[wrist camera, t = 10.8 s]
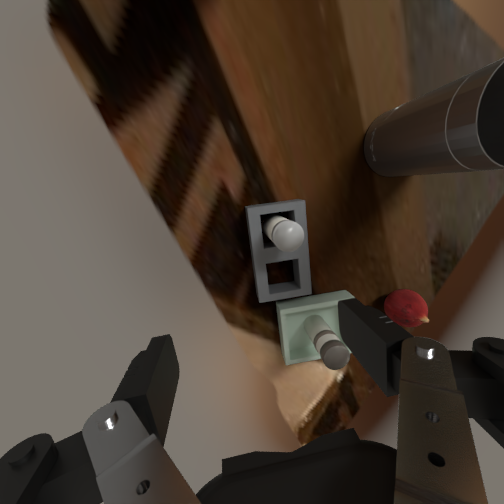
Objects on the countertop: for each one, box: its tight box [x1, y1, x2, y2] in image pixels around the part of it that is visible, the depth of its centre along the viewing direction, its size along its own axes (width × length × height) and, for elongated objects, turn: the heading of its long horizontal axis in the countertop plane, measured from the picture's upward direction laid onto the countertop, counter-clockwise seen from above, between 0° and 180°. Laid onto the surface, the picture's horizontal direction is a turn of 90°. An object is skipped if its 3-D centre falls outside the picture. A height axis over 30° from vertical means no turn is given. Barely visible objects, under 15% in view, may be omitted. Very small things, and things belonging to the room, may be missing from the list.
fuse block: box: [245, 199, 312, 303], centre depth 38 cm, size 8×14×4 cm, turn 7°
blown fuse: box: [304, 314, 350, 370], centre depth 39 cm, size 4×4×9 cm
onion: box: [384, 289, 429, 327], centre depth 40 cm, size 6×6×8 cm
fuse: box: [262, 214, 304, 252], centre depth 34 cm, size 4×4×9 cm
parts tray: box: [276, 290, 355, 365], centre depth 42 cm, size 12×10×3 cm
